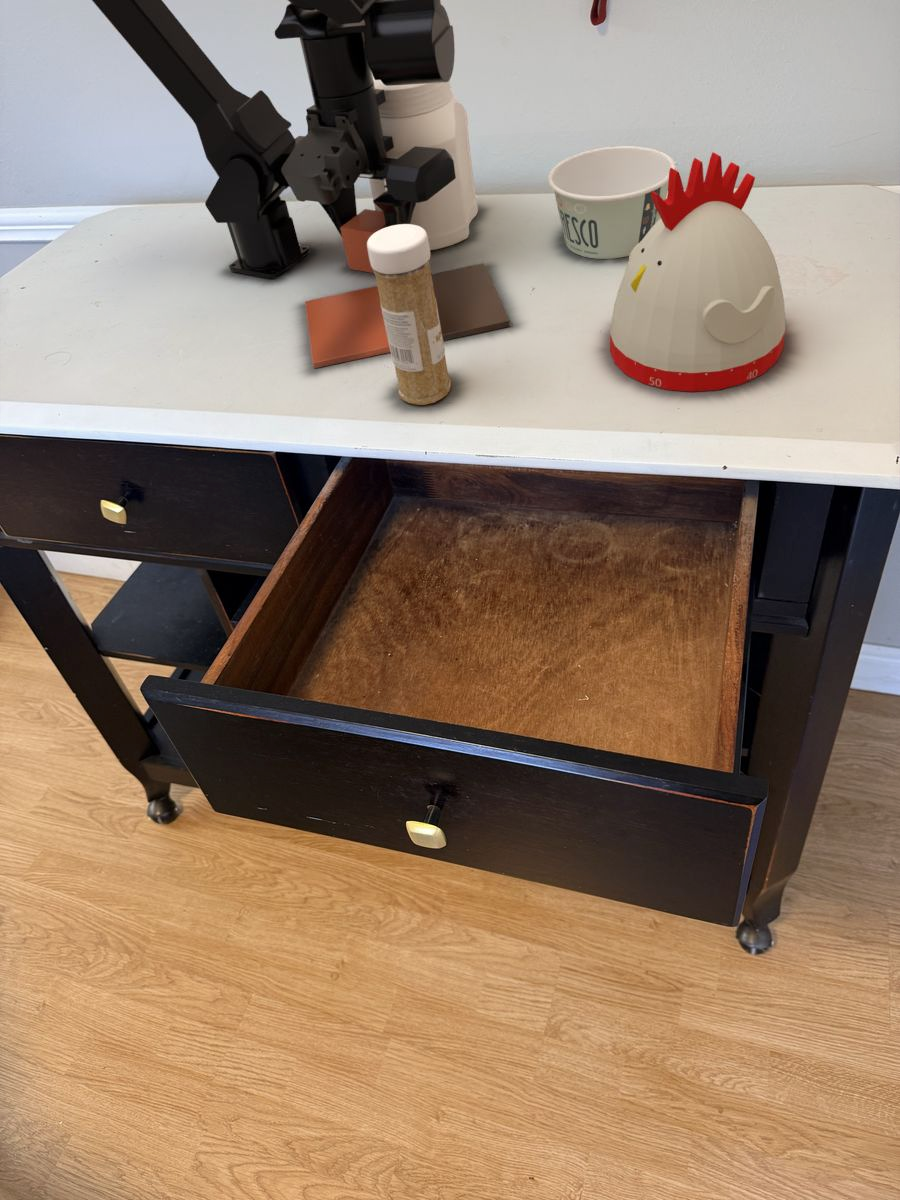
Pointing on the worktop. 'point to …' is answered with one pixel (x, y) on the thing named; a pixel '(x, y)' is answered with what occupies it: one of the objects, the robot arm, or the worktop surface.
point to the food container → (609, 198)
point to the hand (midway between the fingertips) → (376, 252)
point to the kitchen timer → (700, 290)
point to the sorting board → (358, 323)
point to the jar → (432, 123)
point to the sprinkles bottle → (410, 311)
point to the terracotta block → (361, 238)
